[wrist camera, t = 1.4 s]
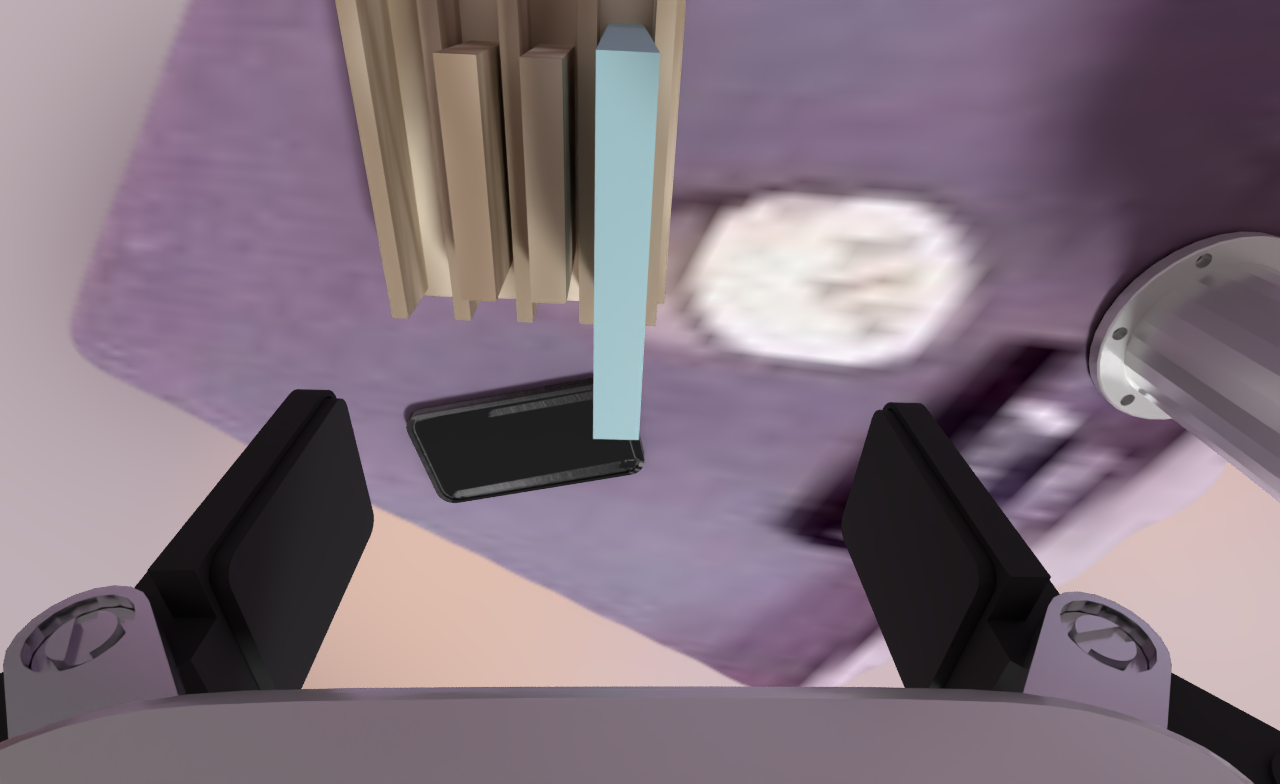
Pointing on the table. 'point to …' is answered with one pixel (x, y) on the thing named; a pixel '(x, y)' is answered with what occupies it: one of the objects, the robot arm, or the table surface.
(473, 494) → the phone
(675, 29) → the rack
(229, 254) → the table surface
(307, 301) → the table surface
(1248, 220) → the table surface
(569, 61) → the offcut
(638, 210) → the tall sheet
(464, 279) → the offcut
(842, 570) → the table surface
